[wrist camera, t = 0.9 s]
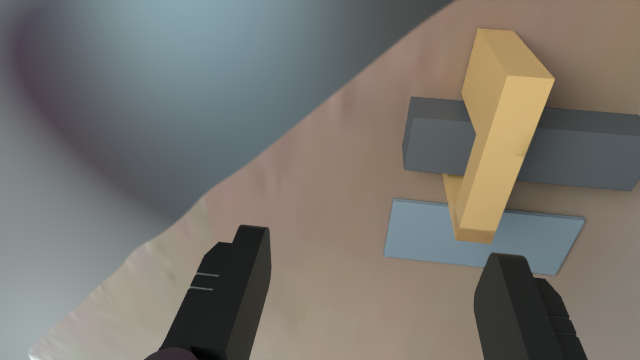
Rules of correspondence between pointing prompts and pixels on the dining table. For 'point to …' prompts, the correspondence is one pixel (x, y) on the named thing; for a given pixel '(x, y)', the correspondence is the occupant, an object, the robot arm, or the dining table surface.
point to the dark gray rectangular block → (543, 152)
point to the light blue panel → (510, 238)
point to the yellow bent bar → (495, 130)
